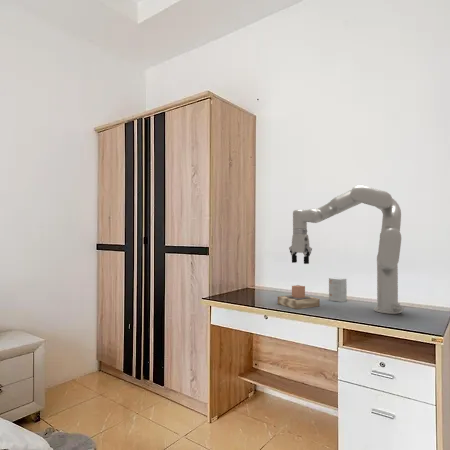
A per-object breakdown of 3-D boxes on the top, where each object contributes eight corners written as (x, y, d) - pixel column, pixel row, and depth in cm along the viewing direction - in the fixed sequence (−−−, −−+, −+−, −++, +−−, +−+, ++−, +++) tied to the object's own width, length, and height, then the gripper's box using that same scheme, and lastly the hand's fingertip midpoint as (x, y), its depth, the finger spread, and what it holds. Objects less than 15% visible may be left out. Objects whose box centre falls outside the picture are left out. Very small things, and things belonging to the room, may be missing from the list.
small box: (346, 301, 210) (346, 278, 211) (340, 302, 206) (340, 279, 206) (334, 299, 217) (334, 277, 217) (328, 300, 212) (328, 278, 213)
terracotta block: (305, 297, 197) (305, 286, 197) (297, 298, 195) (297, 287, 195) (298, 296, 202) (298, 285, 202) (291, 296, 199) (291, 285, 199)
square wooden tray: (319, 306, 195) (319, 298, 195) (296, 309, 187) (296, 300, 187) (299, 301, 209) (299, 293, 209) (277, 303, 201) (277, 296, 201)
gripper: (316, 232, 194) (316, 263, 194) (294, 232, 209) (294, 261, 209) (305, 232, 191) (306, 264, 190) (284, 232, 206) (284, 262, 205)
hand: (300, 263), depth 200 cm, fingers open, 9 cm apart
